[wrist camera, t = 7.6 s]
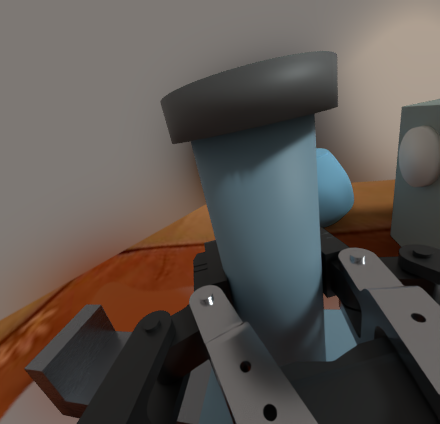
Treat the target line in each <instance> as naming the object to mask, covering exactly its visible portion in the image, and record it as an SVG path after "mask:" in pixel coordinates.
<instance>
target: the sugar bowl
mask: <svg viewBox="0 0 440 424" xmlns="http://www.w3.org/2000/svg"><path fill="white" fill-rule="evenodd" d="M316 159H317V180H318V200H319V221H320V227H322V228H324V227H327V226H330V225H332V224H334V223H336V222H337V221H339V220H340V219H341V218H342V217H343V216H345V215H346V214H347V213H348V212H349V211H350V209H351V208H352V206H353V203H354V195H353V190H352V186H351V182H350V180H349V178H348V176H347V174H346V172H345V171H344V169H343V168H342V166H341V165H340V164H339V162H338V161H337V160H336V158H335V157H334V156H333V155H332V154H331V153H330V152H329V151H328V150H326V149H320V148H316Z"/></svg>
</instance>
